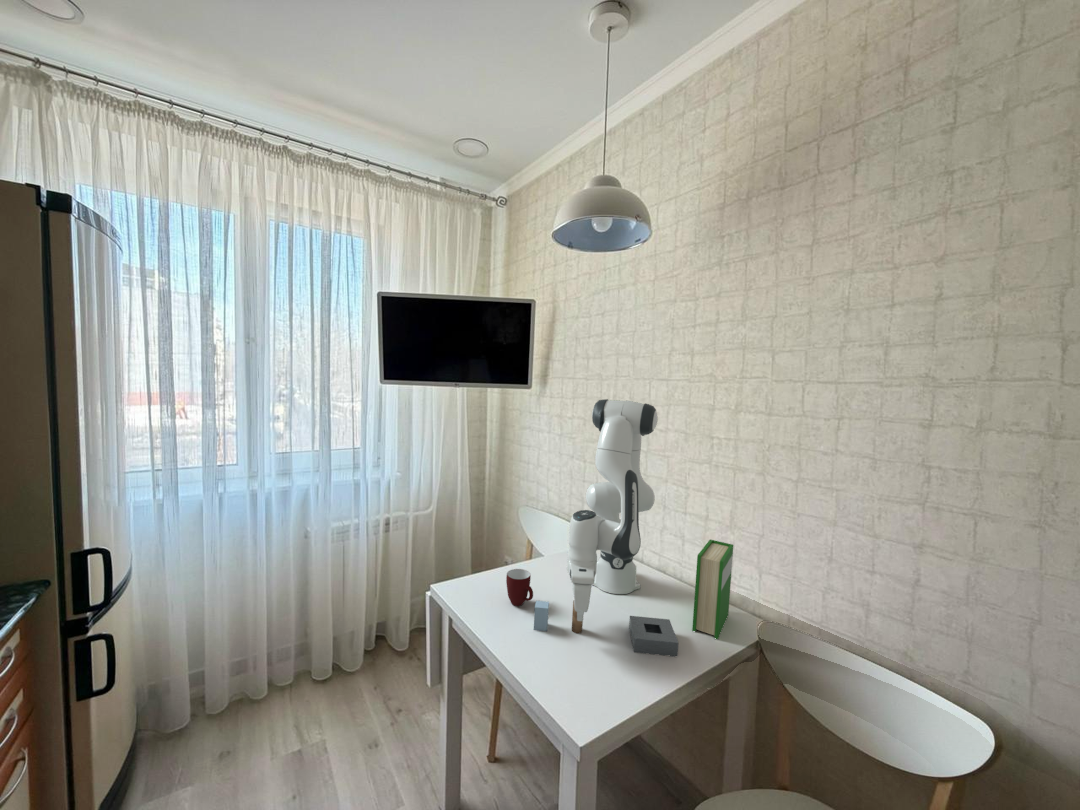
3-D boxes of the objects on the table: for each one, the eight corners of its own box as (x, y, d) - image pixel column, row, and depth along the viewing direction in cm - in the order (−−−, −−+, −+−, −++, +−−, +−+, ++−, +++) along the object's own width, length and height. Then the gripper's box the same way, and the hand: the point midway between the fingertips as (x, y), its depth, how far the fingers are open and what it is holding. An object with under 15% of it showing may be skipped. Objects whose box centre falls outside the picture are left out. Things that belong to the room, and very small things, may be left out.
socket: (628, 628, 132) (629, 615, 132) (668, 632, 131) (669, 619, 131) (633, 652, 120) (634, 638, 120) (677, 656, 119) (678, 642, 119)
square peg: (534, 622, 133) (536, 600, 133) (547, 623, 132) (548, 601, 132) (533, 629, 129) (534, 607, 129) (546, 631, 129) (548, 608, 128)
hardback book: (717, 640, 128) (723, 561, 127) (692, 631, 133) (697, 555, 131) (728, 615, 143) (733, 544, 142) (705, 607, 147) (710, 539, 146)
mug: (540, 604, 144) (541, 575, 143) (526, 614, 137) (527, 584, 137) (514, 594, 150) (516, 566, 149) (500, 603, 143) (501, 574, 142)
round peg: (571, 626, 131) (573, 598, 131) (582, 627, 131) (583, 599, 131) (571, 632, 128) (573, 603, 128) (582, 633, 128) (583, 604, 128)
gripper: (571, 552, 139) (568, 595, 139) (571, 579, 118) (569, 629, 119) (590, 554, 138) (588, 596, 139) (594, 581, 118) (591, 630, 118)
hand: (579, 611), depth 128 cm, fingers open, 8 cm apart
